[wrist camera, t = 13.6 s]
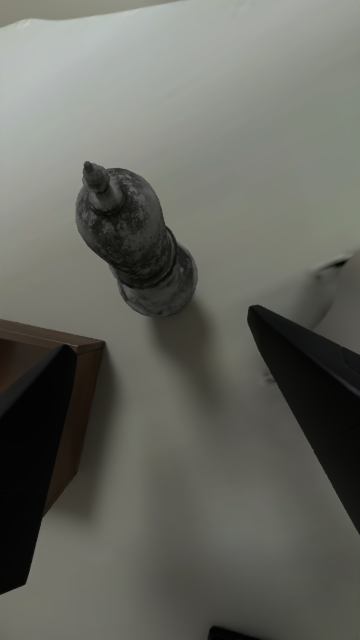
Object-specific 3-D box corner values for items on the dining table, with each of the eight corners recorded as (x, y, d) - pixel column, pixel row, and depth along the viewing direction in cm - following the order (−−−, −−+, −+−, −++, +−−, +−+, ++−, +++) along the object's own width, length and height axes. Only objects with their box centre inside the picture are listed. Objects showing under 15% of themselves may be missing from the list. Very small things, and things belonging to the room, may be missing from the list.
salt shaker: (123, 306, 16) (-77, 244, 4) (145, 248, 16) (17, 11, 4) (182, 328, 15) (163, 334, 3) (204, 268, 16) (259, 76, 4)
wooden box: (76, 473, 15) (40, 521, 12) (-46, 442, 16) (-118, 477, 12) (104, 341, 16) (78, 345, 12) (-16, 315, 16) (-77, 312, 13)
